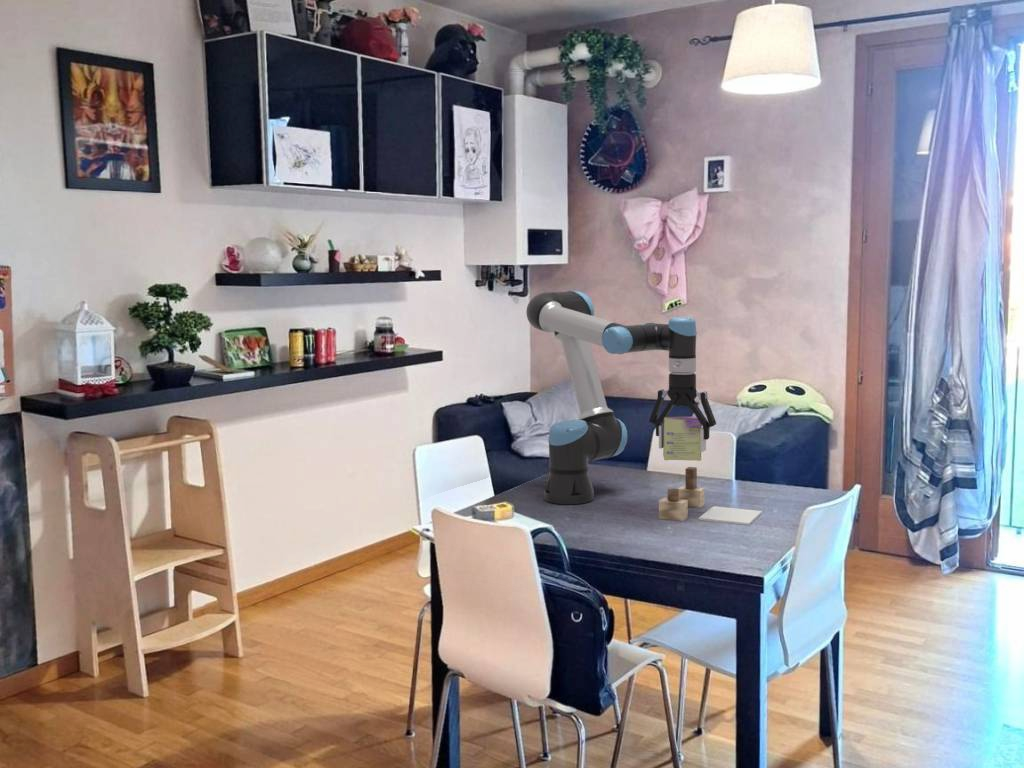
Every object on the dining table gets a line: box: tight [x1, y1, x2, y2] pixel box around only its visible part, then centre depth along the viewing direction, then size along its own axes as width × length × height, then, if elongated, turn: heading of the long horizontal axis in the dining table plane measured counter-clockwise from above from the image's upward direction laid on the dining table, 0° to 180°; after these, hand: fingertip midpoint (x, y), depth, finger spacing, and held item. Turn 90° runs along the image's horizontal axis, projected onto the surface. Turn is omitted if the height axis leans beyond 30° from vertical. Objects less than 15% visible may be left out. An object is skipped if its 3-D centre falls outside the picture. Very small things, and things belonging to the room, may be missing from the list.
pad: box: [698, 505, 763, 526], centre depth 276 cm, size 14×14×1 cm
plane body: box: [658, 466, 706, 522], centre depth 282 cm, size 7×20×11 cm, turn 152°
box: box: [662, 416, 703, 462], centre depth 280 cm, size 10×6×12 cm, turn 84°
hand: (682, 449), depth 280 cm, fingers closed on box, 11 cm apart
